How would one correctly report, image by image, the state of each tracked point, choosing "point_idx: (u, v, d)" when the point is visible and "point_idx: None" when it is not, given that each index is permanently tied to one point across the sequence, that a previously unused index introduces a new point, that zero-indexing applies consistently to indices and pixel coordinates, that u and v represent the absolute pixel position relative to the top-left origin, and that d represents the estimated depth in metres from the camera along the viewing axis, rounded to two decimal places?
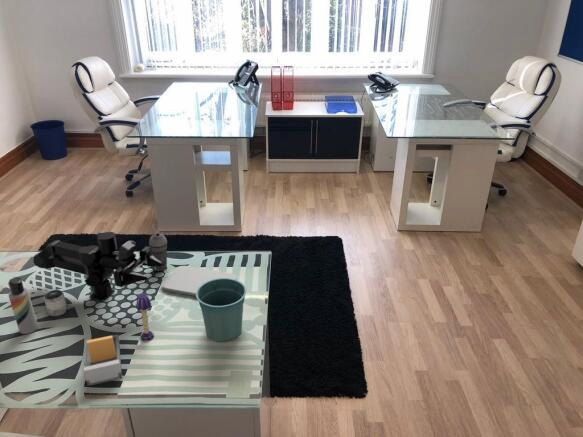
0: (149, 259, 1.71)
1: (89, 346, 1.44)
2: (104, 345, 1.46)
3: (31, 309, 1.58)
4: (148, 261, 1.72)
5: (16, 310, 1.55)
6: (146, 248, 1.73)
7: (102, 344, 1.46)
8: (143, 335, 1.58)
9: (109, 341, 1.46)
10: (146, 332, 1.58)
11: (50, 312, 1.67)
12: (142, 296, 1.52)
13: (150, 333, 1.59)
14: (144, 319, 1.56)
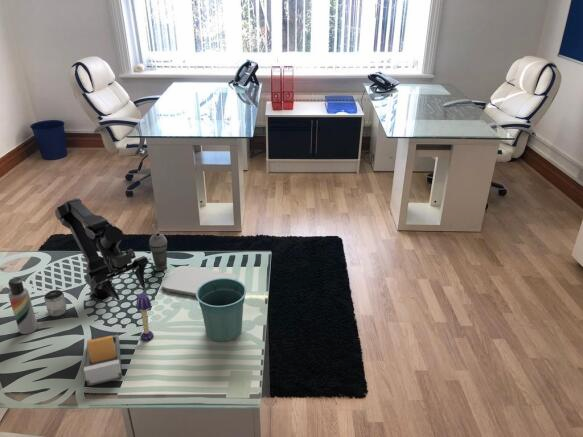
0: (138, 273, 1.62)
1: (89, 346, 1.44)
2: (104, 345, 1.46)
3: (31, 309, 1.58)
4: (137, 272, 1.63)
5: (16, 310, 1.55)
6: (143, 261, 1.62)
7: (102, 344, 1.46)
8: (143, 335, 1.58)
9: (109, 341, 1.46)
10: (146, 332, 1.58)
11: (50, 312, 1.67)
12: (142, 296, 1.52)
13: (150, 333, 1.59)
14: (144, 319, 1.56)
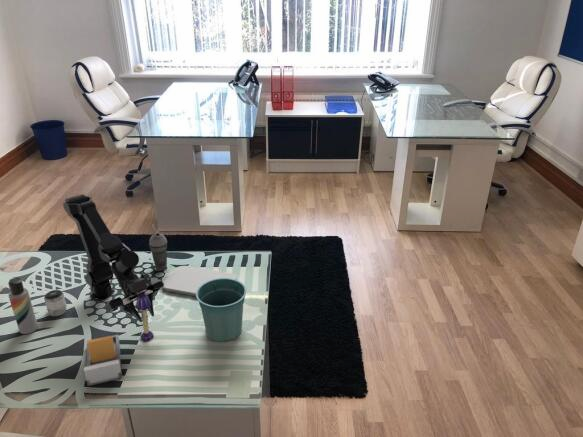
0: None
1: (89, 346, 1.44)
2: (104, 345, 1.46)
3: (31, 309, 1.58)
4: None
5: (16, 310, 1.55)
6: (159, 284, 1.58)
7: (102, 344, 1.46)
8: (143, 335, 1.58)
9: (109, 341, 1.46)
10: (146, 332, 1.58)
11: (50, 312, 1.67)
12: (142, 296, 1.52)
13: (150, 333, 1.59)
14: (144, 319, 1.55)
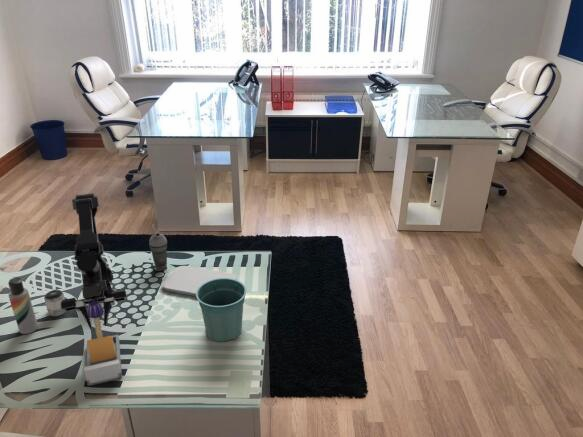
0: (104, 307, 1.48)
1: (89, 346, 1.44)
2: (104, 345, 1.46)
3: (31, 309, 1.58)
4: None
5: (16, 310, 1.55)
6: (119, 295, 1.48)
7: (102, 344, 1.46)
8: None
9: (109, 341, 1.46)
10: None
11: (50, 312, 1.67)
12: (93, 303, 1.43)
13: None
14: (96, 327, 1.47)
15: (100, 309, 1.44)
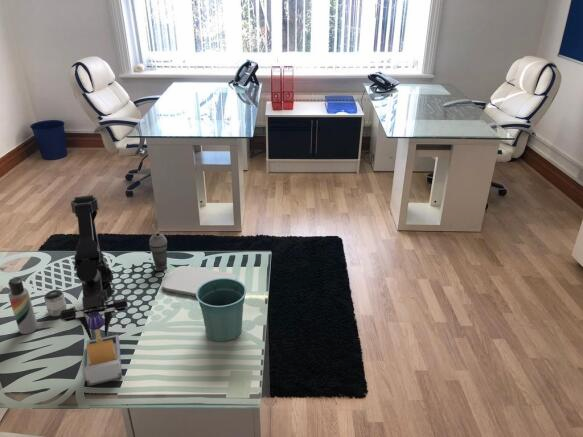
0: None
1: (89, 350, 1.43)
2: (104, 349, 1.44)
3: (31, 309, 1.58)
4: None
5: (16, 310, 1.55)
6: (120, 305, 1.45)
7: (102, 348, 1.44)
8: None
9: (109, 345, 1.44)
10: None
11: (50, 312, 1.67)
12: (93, 315, 1.40)
13: None
14: (96, 337, 1.44)
15: (100, 320, 1.41)
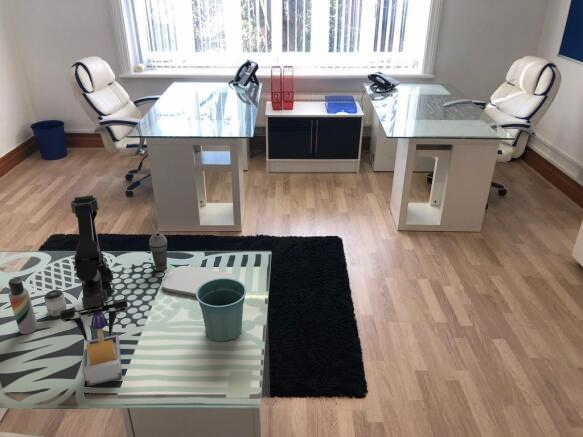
0: (109, 317, 1.45)
1: (89, 351, 1.43)
2: (104, 350, 1.44)
3: (31, 309, 1.58)
4: None
5: (17, 310, 1.55)
6: (120, 305, 1.44)
7: (102, 349, 1.44)
8: None
9: (109, 346, 1.44)
10: None
11: (50, 312, 1.67)
12: (97, 314, 1.42)
13: None
14: (98, 338, 1.46)
15: (104, 320, 1.43)
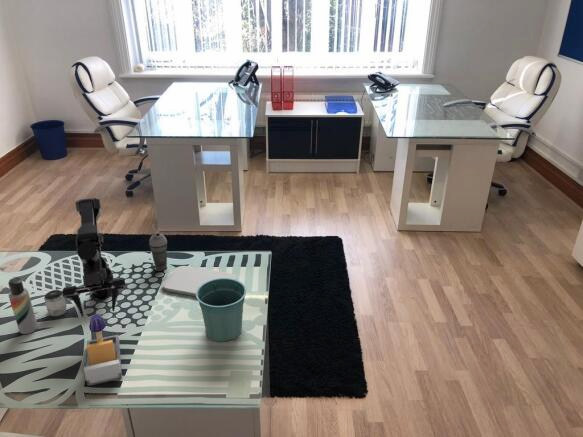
0: (112, 293, 1.56)
1: (89, 351, 1.43)
2: (104, 350, 1.44)
3: (31, 309, 1.58)
4: None
5: (16, 310, 1.55)
6: (118, 283, 1.55)
7: (102, 349, 1.44)
8: None
9: (109, 346, 1.44)
10: None
11: (50, 312, 1.67)
12: (95, 317, 1.41)
13: None
14: (97, 340, 1.45)
15: (102, 323, 1.42)
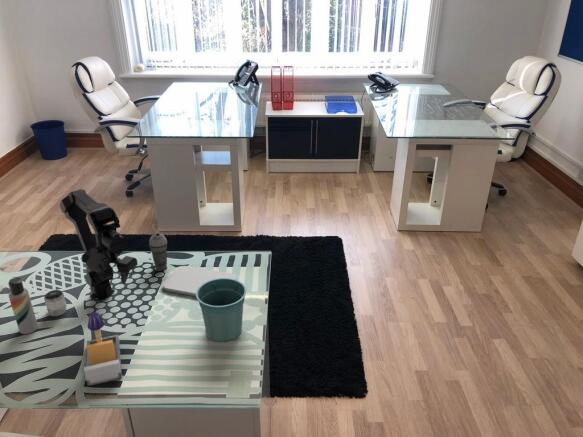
0: None
1: (89, 351, 1.43)
2: (104, 350, 1.44)
3: (31, 309, 1.58)
4: None
5: (17, 310, 1.55)
6: (122, 269, 1.57)
7: (102, 349, 1.44)
8: None
9: (109, 346, 1.44)
10: None
11: (50, 312, 1.67)
12: (93, 315, 1.42)
13: None
14: (97, 339, 1.45)
15: (100, 321, 1.42)
